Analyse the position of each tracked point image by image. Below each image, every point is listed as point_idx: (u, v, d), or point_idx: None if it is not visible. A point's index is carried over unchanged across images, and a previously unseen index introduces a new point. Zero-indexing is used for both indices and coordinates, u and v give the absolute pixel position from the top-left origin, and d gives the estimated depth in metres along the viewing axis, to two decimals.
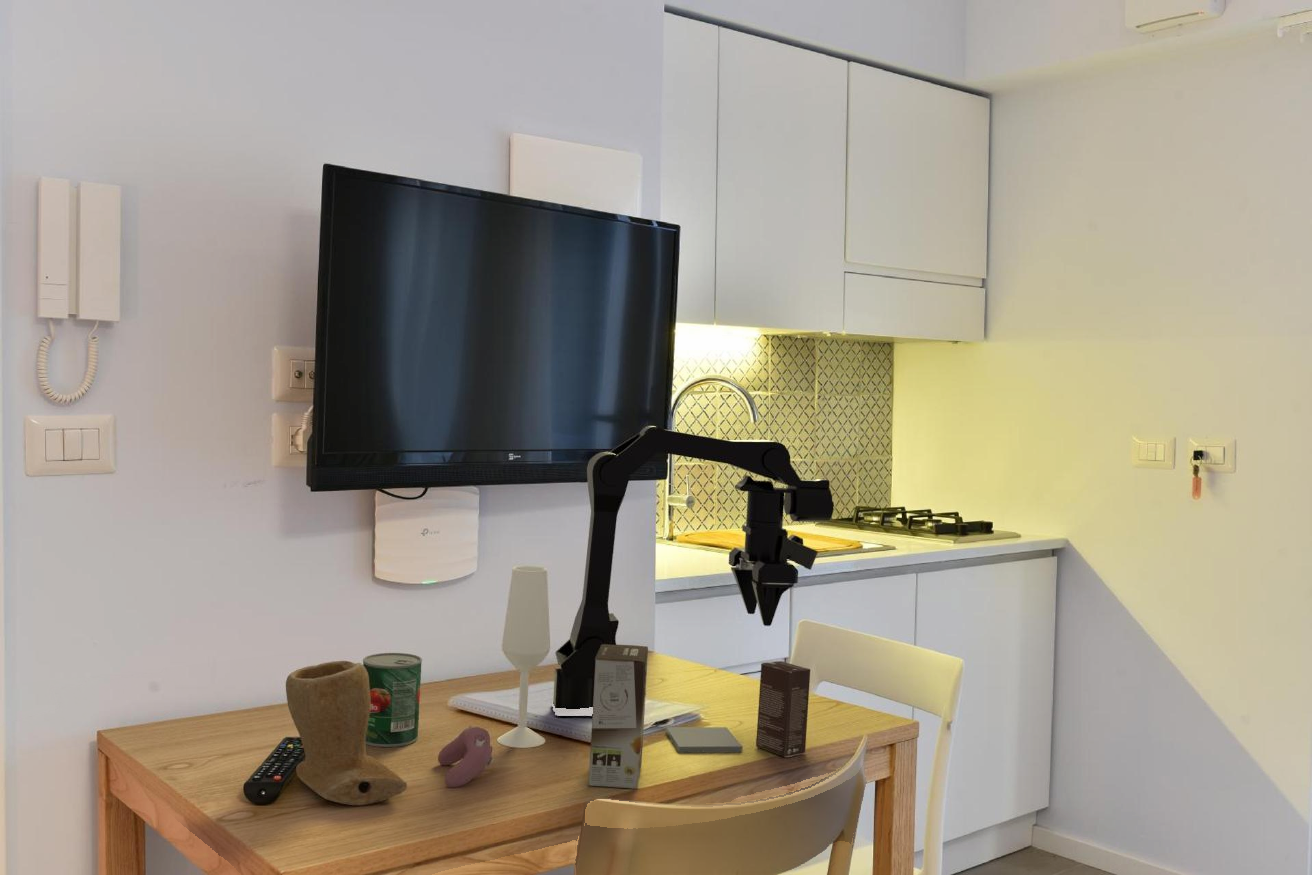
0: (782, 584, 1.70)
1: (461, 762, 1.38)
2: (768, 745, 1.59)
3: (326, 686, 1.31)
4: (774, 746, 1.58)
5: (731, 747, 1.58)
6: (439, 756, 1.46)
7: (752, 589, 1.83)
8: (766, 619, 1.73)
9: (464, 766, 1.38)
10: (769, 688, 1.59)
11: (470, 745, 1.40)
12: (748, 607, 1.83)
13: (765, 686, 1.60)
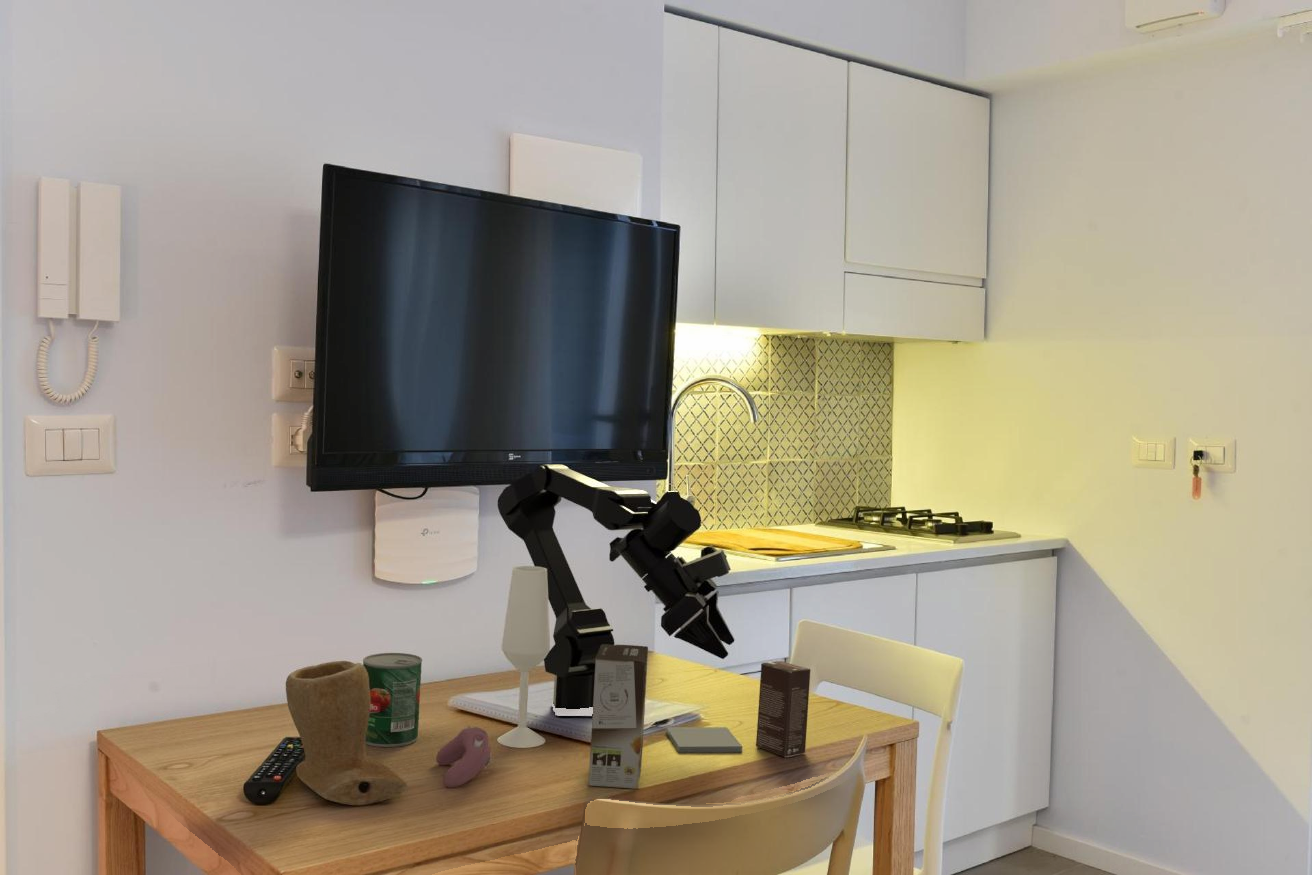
0: (694, 618, 1.53)
1: (459, 762, 1.38)
2: (768, 745, 1.59)
3: (326, 686, 1.31)
4: (774, 746, 1.58)
5: (731, 747, 1.58)
6: (437, 756, 1.46)
7: (714, 622, 1.66)
8: (719, 653, 1.56)
9: (462, 766, 1.38)
10: (769, 688, 1.59)
11: (468, 746, 1.40)
12: (724, 640, 1.65)
13: (765, 686, 1.60)
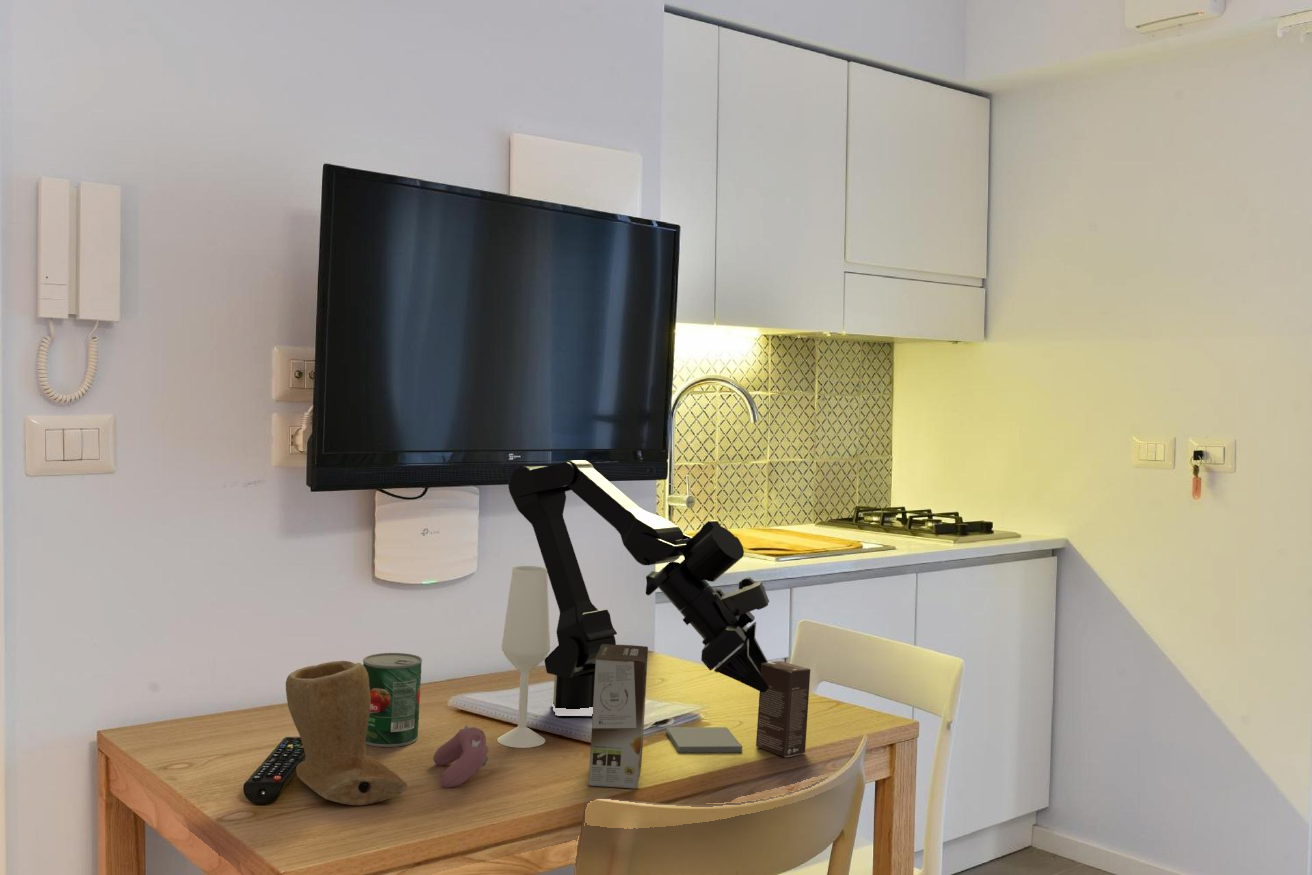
0: (735, 652, 1.52)
1: (457, 762, 1.38)
2: (768, 745, 1.59)
3: (326, 686, 1.31)
4: (774, 746, 1.58)
5: (731, 747, 1.58)
6: (435, 756, 1.46)
7: (753, 653, 1.65)
8: (759, 686, 1.55)
9: (459, 766, 1.38)
10: (769, 688, 1.59)
11: (466, 746, 1.40)
12: None
13: None
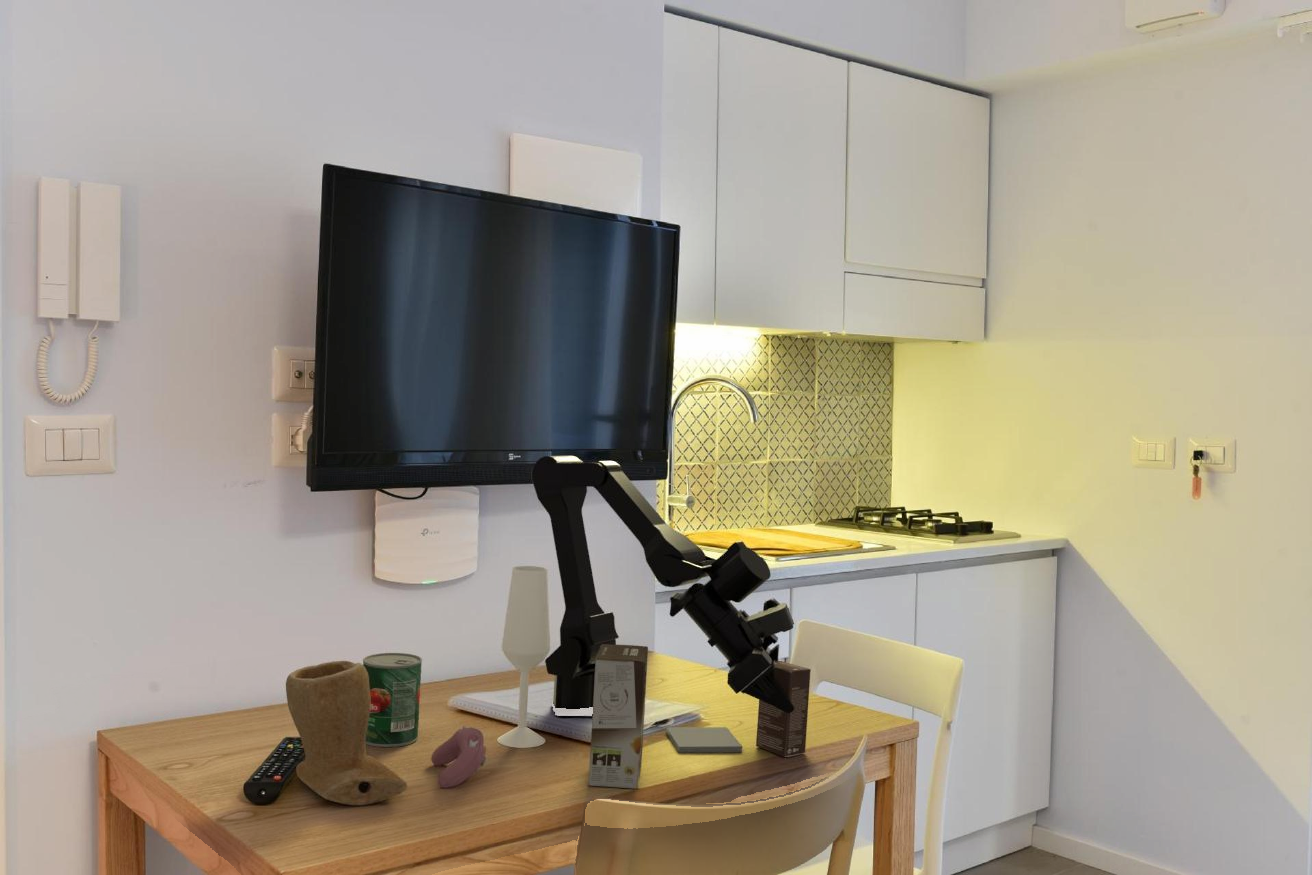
0: (762, 673, 1.53)
1: (454, 763, 1.38)
2: (768, 745, 1.59)
3: (326, 686, 1.31)
4: (775, 746, 1.58)
5: (731, 747, 1.58)
6: (432, 756, 1.45)
7: None
8: (785, 707, 1.56)
9: (457, 766, 1.38)
10: None
11: (463, 746, 1.40)
12: None
13: None
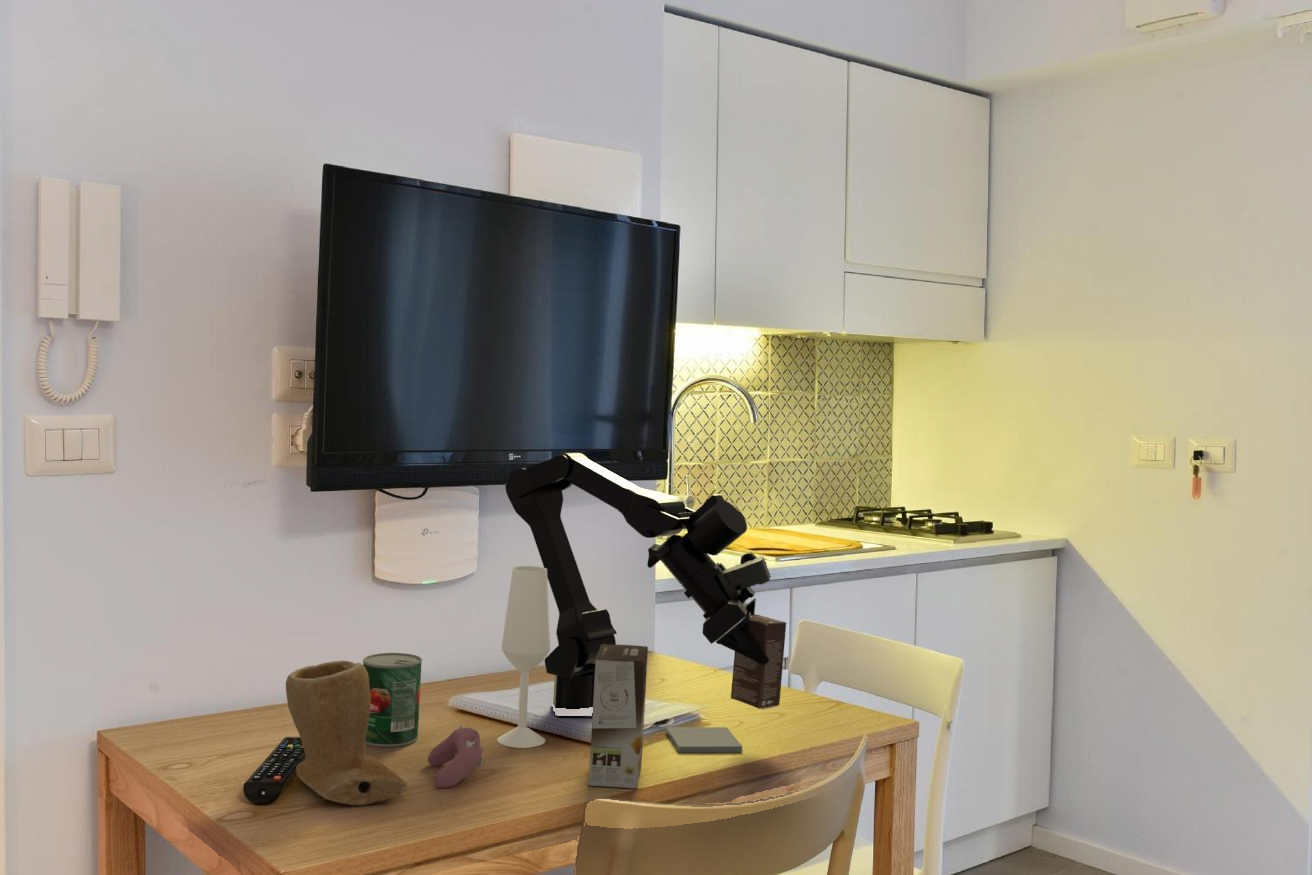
0: (737, 624, 1.54)
1: (451, 763, 1.38)
2: (742, 697, 1.60)
3: (326, 686, 1.31)
4: (749, 698, 1.59)
5: (731, 747, 1.58)
6: (429, 757, 1.45)
7: None
8: (760, 659, 1.56)
9: (453, 766, 1.38)
10: None
11: (460, 746, 1.39)
12: None
13: None
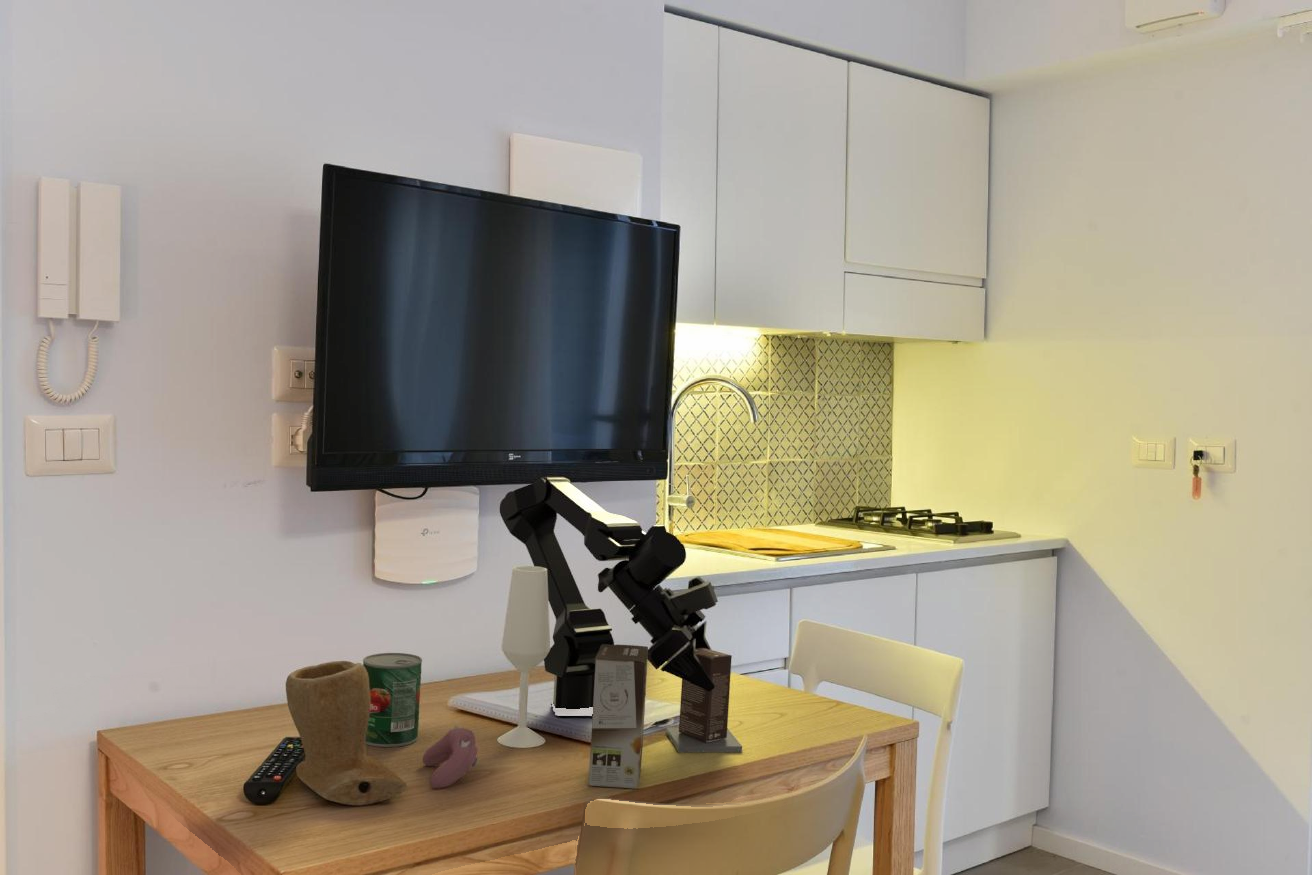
0: (681, 651, 1.54)
1: (446, 763, 1.38)
2: (690, 730, 1.61)
3: (326, 686, 1.31)
4: (696, 731, 1.60)
5: (731, 747, 1.58)
6: (424, 757, 1.45)
7: None
8: (705, 685, 1.56)
9: (449, 767, 1.37)
10: None
11: (455, 746, 1.39)
12: None
13: None
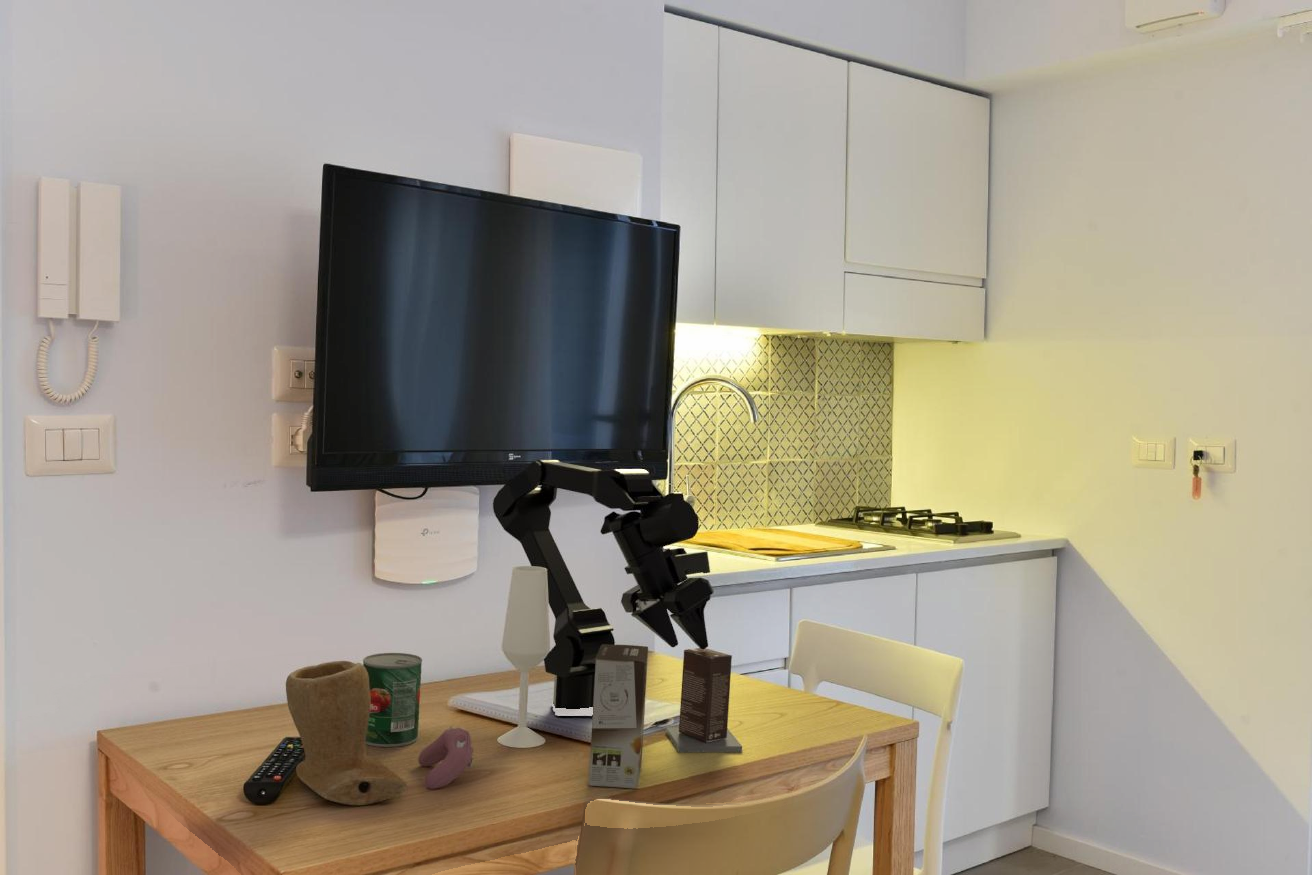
0: (701, 601, 1.59)
1: (441, 763, 1.37)
2: (690, 730, 1.61)
3: (326, 686, 1.31)
4: (696, 731, 1.60)
5: (731, 747, 1.58)
6: (420, 757, 1.45)
7: (664, 622, 1.70)
8: (702, 642, 1.61)
9: (444, 767, 1.37)
10: (691, 674, 1.61)
11: (450, 747, 1.39)
12: (670, 641, 1.70)
13: (687, 672, 1.62)
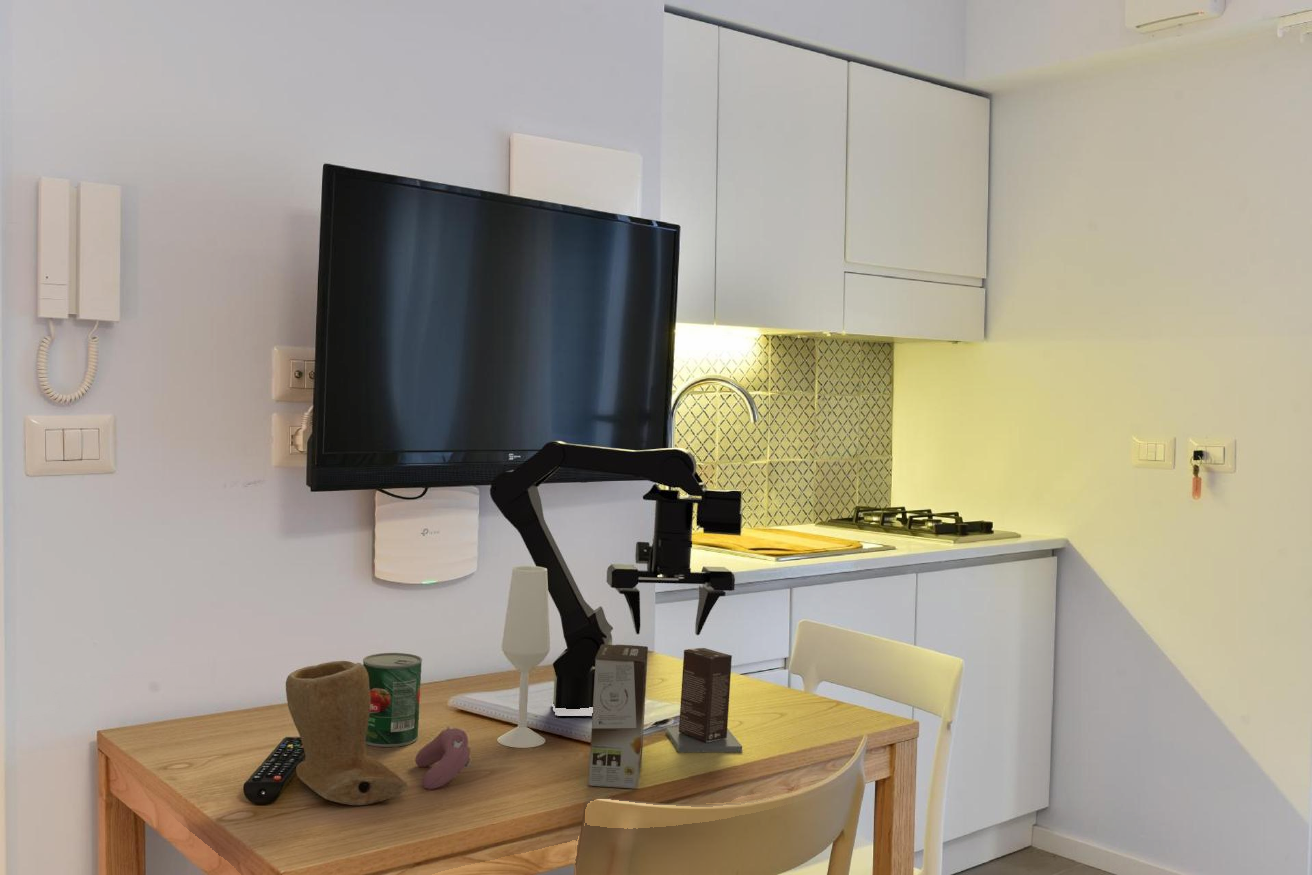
0: None
1: (438, 764, 1.37)
2: (690, 730, 1.61)
3: (326, 686, 1.31)
4: (696, 731, 1.60)
5: (731, 747, 1.58)
6: (416, 758, 1.45)
7: None
8: None
9: (441, 767, 1.37)
10: (691, 674, 1.61)
11: (447, 747, 1.39)
12: (639, 627, 1.70)
13: (687, 672, 1.62)
